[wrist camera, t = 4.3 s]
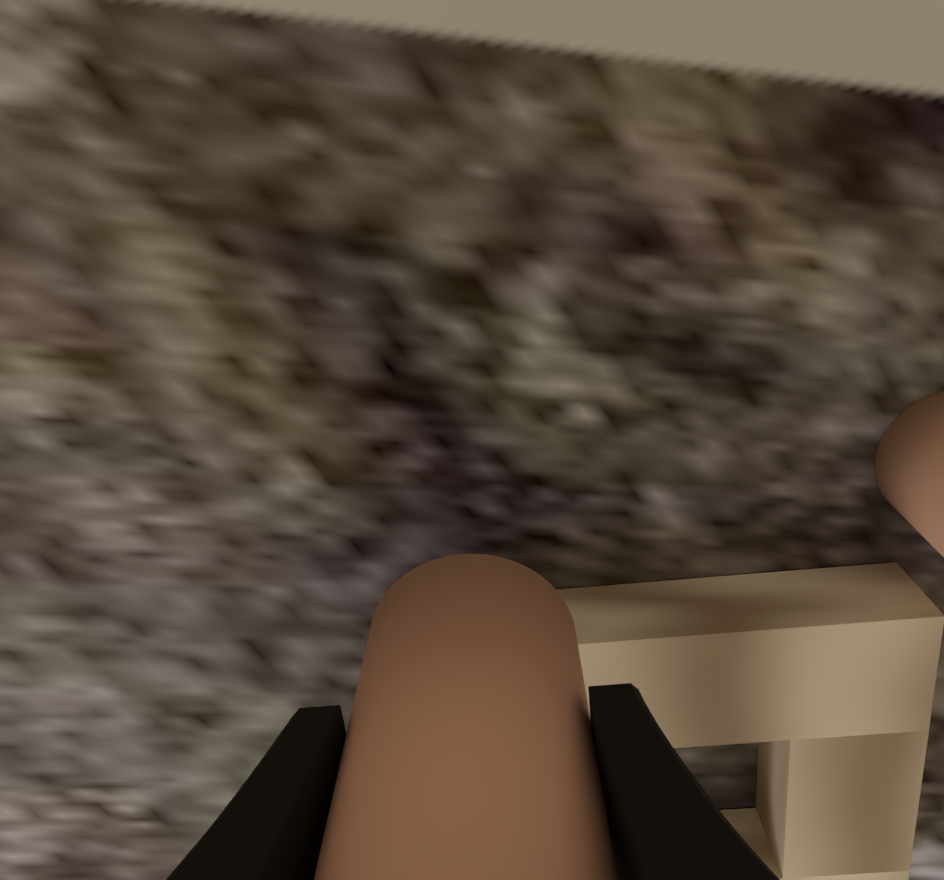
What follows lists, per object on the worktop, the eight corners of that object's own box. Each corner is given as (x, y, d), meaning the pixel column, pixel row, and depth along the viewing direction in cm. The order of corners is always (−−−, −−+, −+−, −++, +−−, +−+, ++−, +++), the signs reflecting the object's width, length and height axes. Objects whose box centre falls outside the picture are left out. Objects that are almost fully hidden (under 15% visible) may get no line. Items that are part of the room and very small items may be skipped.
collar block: (493, 903, 27) (494, 978, 25) (452, 597, 23) (449, 654, 20) (862, 881, 27) (897, 955, 24) (896, 562, 22) (945, 616, 20)
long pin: (387, 734, 15) (312, 1208, 9) (353, 564, 14) (232, 973, 7) (582, 717, 15) (658, 1191, 8) (568, 543, 13) (643, 946, 7)
